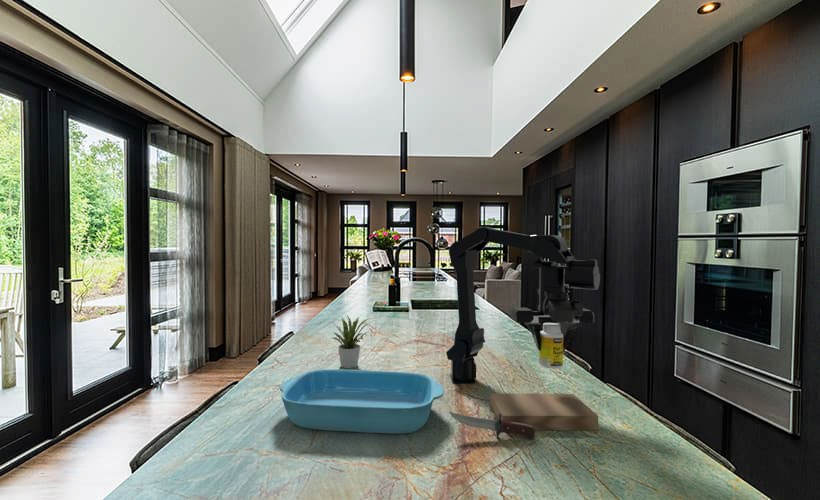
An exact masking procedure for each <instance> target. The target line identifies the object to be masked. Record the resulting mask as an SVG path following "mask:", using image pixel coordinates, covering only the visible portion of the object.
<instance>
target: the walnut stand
mask: <svg viewBox="0 0 820 500" xmlns="http://www.w3.org/2000/svg"><path fill="white" fill-rule="evenodd" d="M489 407H490V409H491V411H492V412H493V414H494V416H495V418H496V419H497V417H498V414H501V415H502V416H501V420H504V421H511V422H518V423H524V424H529V425H532V426H533V427H534V429H535V431H599V414H597V413H596V412H594V410H592V408H590V407H589V406H588V405H586V403H584V402H583V401H582V400H581V399H580V398H579V397H578V396H576V395H575V394H574V393H510V392H509V393H508V392H507V393H504V392H503V393H501V392H500V393H492V392H491V393H489Z"/></svg>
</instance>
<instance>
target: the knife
mask: <svg viewBox="0 0 820 500" xmlns="http://www.w3.org/2000/svg"><path fill="white" fill-rule="evenodd" d="M448 413H449V414H450V417H452V418H453V419H454V420H456V421H457V422H459V423H461V424H463V425H466V426H469V427H473V428H477V429H478V428H479V429H482V430H491V431H495V436H496V439H499V438H500V437H499V435H500V434H501V433H502V434H503V433H504V434H507V435H512V434H513V435H515V436H522V437H525V438H527V439H529V440H533V439H534V438H535V435H536V430H535V429H534V427H533V426H532V425H529V424H524V423H518V422H511V421H504V420H501V416H502V415H501V414H498V417H497V418H496V419H491V418H490V419H489V418H483V417H478V416H477V417H476V416H470V415H464V414H459V413H454V412H452V411H448Z"/></svg>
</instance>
